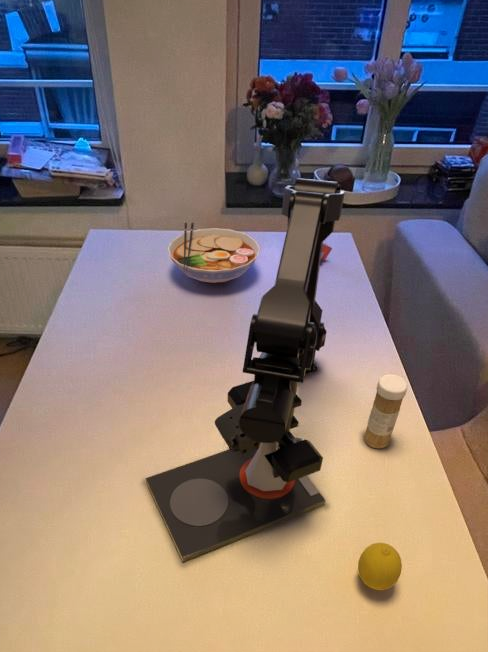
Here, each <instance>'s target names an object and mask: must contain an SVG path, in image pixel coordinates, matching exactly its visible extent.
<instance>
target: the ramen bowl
mask: <svg viewBox="0 0 488 652" xmlns="http://www.w3.org/2000/svg"><path fill="white" fill-rule="evenodd" d="M194 224H195V223H194V222H191V223H190V231H187V230H188V223H187V222H184V229H183V233H181V234H180V235H178V236H177V237H175V238H173V239H172V240H171V241H170V243H169V245H168V246H167V251H168V255H169V258H170V259H171V262H173V264H174V265H175V266H176V267H177V268H178V269H179V270H180V271H181V272H182V273H184V275H186V276H187V277H189V278H191V279H194V280H197V281H200V282H202V283H203V282H204V283H211V284H212V283H213V284H216V283H225V282H229V281H231V280H235V279H237V278H239V277H241V276H242V275H244V274H245V273H246V272H247V271H248V270H249V269H251V267H252V266H253V265H254V264H255V262H256V260H257V258H258V257H259V254H260V252H261V247H260V246H259V243H258V241H257V240H256V239H255V238H253V237H251V236H250V235H248V234H247V233H244V232H241V231H237V230H235V229H229V228H221V227H220V228H219V227H218V228H216V227H210V228H199V229H194V226H195V225H194Z"/></svg>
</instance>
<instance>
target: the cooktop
mask: <svg viewBox="0 0 488 652" xmlns="http://www.w3.org/2000/svg"><path fill="white" fill-rule="evenodd" d="M256 452H257V451H256V449H255V450H253V451H251V452H250V453H248V454H246V455H242V454H241V452H240V451H238V452H236V453H234V452H232V451H231V450H230V448H228V449H226V450H223V451H221V452H220V451H219V452H218V453H214V454H212V455H209V456H206V457H203V458H200V459H197V460H194V461H192V462H189V463H185V464H183V465H180V466H177V467H174V468H171V469H167V470H166V471H162V472H160V473H157V474H154V475H151V476H148V477H145V484H146V485H147V488H148V490H149V492H150V495H151V496H152V498H153V501H154V503H155V505H156V507H157V509H158V511H159V514H160V516H161V518H162V520H163V522H164V525H165V526H166V529H167V531H168V534H169V535H170V537H171V540H172V542H173V544H174V546H175V549H176V550H177V553H178V555H179V557H180V559H181V561H182V563H184V562H187V561H189V560H192V559H194V558H197V557H200V556H202V555H205V554H207V553H209V552H212V551H214V550H216V549H219V548H222V547H224V546H227V545H229V544H231V543H234V542H237V541H239V540H241V539H243V538H247V537H248V536H251V535H254V534H256V533H259V532H261V531H264V530H266V529H268V528H271V527H273V526H276V525H279V524H281V523H283V522H286V521H288V520H291V519H293V518H295V517H298V516H301V515H303V514H305V513H308V512H310V511H313V510H316V509H318V508H320V507H322V506H325V504H326V499H325V498H324V496H323V495H322V494H321V492H320V491H319V490H318V488H317V487H316V486H315V485H314V483H313V482H312V480H311V479H310V477H309V475H307V476H304V477H302V478H299V479H296V480H294V481H291V482H289V483H288V482H286V484H285V486H284V487H283V489H282V490H273V491H262V490H260V489H258V488H255V487H253V486H251V485H248V482H247V477H246V472H245V470H246V468H247V467H248V465H249V464H250V462H251V460H252V459H253V457H254V455H255V454H256Z"/></svg>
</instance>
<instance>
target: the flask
mask: <svg viewBox="0 0 488 652" xmlns="http://www.w3.org/2000/svg"><path fill="white" fill-rule="evenodd" d="M278 445H279V444H278V442H277V441H276V442H274V443H260V446H259V448H258V450H257V452H256V454H255V455H254V457H253V459H252V460H251V462H250V464H249V465H248V467H247V468H246V470H245V472H246V477H247V482H248V485H251V486H253V487H255V488H258V489H260V490H262V491H273V490H282V489H283V487H284V486H285V484H286V482H285V481H283V480H282V479H281V477H280V476H279V477H277V478H274V476H273V469H272V466H271V465H270V463H269V462H268V460H267V459H266V457H265V456H264V455H267V454H269V453H272V452H275V451H276V450H278V449H277V447H278Z"/></svg>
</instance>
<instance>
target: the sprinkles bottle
mask: <svg viewBox="0 0 488 652" xmlns="http://www.w3.org/2000/svg"><path fill="white" fill-rule="evenodd" d="M407 390H408V382H407V381H406V379H405V378H403V377H402V376H400V375H397V374H389V373H388V374H385V375H381V376H380V378H379V379H378V382H377V384H376V393H375V397H374V400H373V404H372V406H371V410H370V413H369V417H368V421H367V426H366V429H365V432H364V434H363V441H364V442H365V443H366V444H367V445H368V446H369V447H371V448H373V449H384V448H386V447H388V446H389V444H390V442H391V436H392V433H393V431H394V429H395V426H396V422H397V420H398V417H399V414H400V411H401V406H402V402H403V399H405V396H406V395H407Z"/></svg>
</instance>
